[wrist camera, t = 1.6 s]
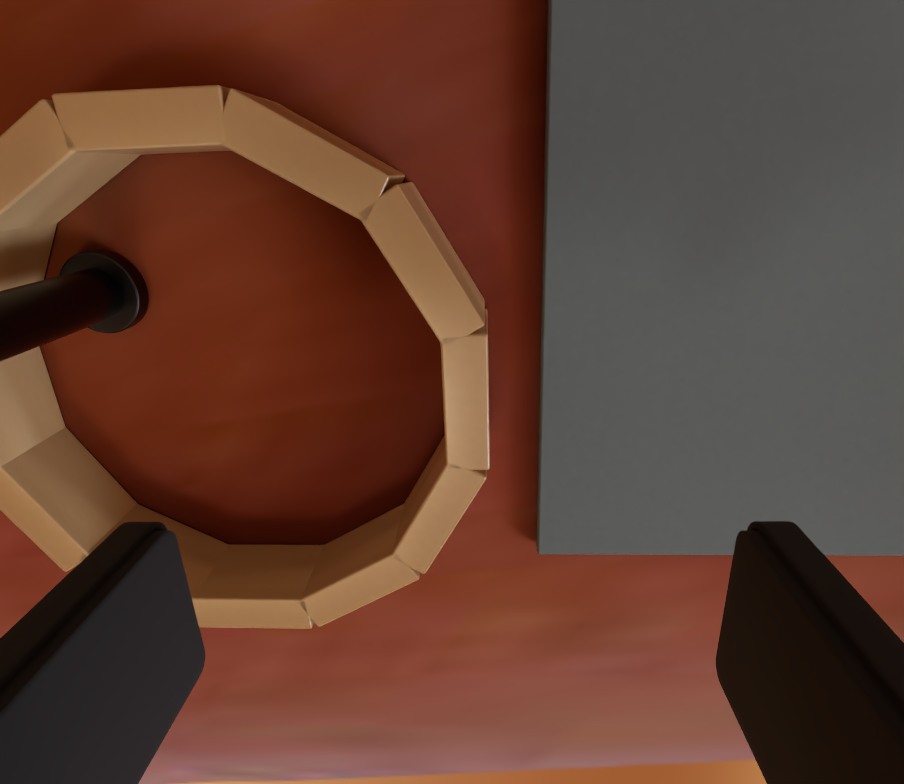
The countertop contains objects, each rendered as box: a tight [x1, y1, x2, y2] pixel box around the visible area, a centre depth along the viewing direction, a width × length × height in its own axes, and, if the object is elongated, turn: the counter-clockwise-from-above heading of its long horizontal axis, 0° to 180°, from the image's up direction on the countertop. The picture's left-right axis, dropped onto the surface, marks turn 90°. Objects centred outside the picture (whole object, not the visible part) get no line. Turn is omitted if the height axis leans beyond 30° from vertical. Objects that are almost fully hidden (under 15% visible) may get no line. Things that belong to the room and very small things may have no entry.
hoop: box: [0, 85, 490, 629], centre depth 18 cm, size 17×17×3 cm
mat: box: [537, 0, 904, 556], centre depth 16 cm, size 20×20×1 cm
